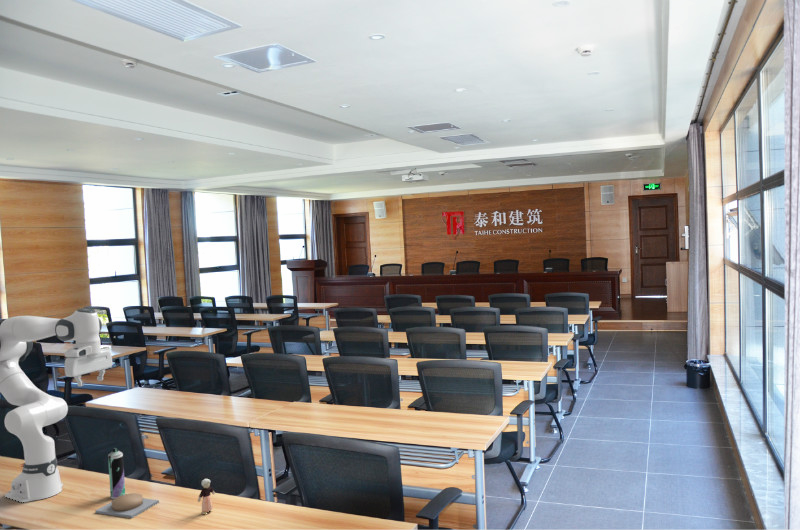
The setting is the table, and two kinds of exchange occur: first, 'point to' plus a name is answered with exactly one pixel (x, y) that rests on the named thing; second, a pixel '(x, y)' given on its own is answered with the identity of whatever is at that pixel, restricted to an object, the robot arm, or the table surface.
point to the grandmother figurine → (206, 496)
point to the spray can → (116, 473)
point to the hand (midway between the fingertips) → (90, 383)
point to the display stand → (127, 505)
